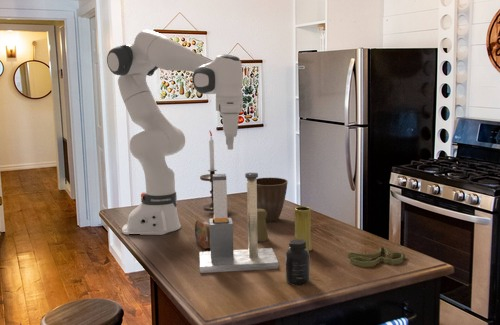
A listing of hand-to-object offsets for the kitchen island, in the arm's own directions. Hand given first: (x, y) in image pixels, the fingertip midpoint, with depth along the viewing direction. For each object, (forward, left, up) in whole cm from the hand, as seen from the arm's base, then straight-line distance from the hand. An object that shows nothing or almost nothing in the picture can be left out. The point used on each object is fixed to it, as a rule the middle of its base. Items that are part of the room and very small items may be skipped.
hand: (229, 147), depth 185 cm
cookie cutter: (+45, -18, -36) cm, 60 cm away
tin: (-9, +6, -36) cm, 37 cm away
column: (-4, -14, -27) cm, 31 cm away
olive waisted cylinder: (+11, +10, -36) cm, 39 cm away
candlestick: (-4, +58, -36) cm, 68 cm away
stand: (+1, -14, -35) cm, 38 cm away
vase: (+24, -4, -36) cm, 43 cm away
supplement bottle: (+17, -32, -36) cm, 51 cm away
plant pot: (+18, +35, -36) cm, 53 cm away
